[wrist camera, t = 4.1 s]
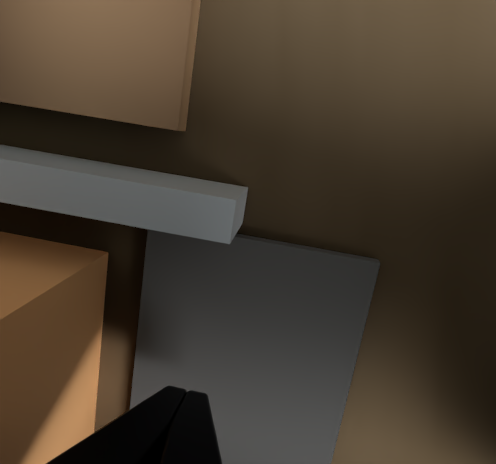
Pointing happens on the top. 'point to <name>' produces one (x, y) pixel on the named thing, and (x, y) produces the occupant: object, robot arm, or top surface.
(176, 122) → the coaster
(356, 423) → the top surface
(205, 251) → the mat
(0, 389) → the block
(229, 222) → the channel
